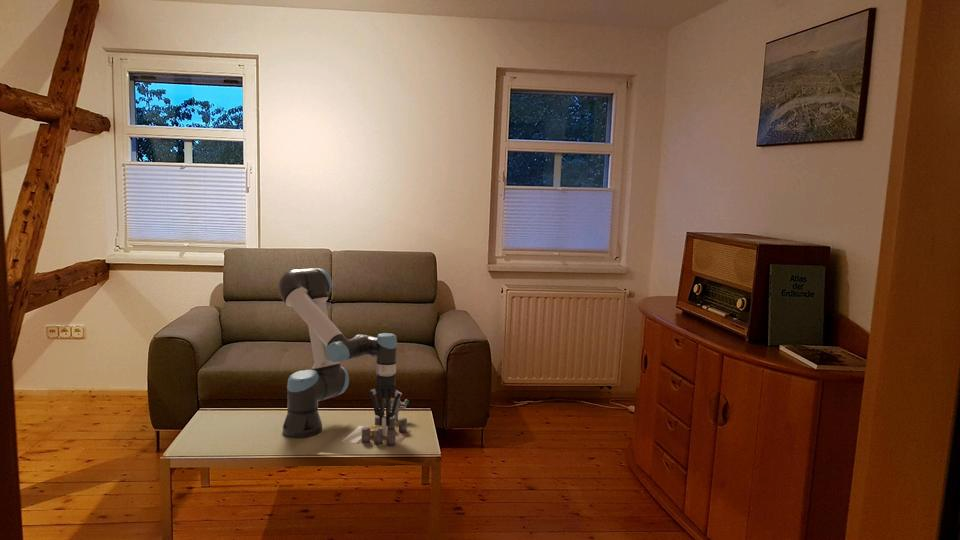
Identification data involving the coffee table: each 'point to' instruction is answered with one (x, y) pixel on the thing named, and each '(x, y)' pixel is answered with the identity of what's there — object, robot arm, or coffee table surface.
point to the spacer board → (380, 434)
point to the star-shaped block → (373, 430)
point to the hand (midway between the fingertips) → (384, 433)
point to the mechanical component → (398, 406)
